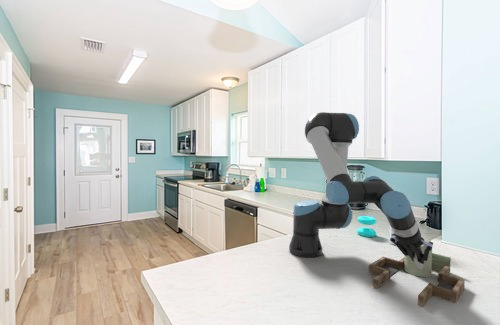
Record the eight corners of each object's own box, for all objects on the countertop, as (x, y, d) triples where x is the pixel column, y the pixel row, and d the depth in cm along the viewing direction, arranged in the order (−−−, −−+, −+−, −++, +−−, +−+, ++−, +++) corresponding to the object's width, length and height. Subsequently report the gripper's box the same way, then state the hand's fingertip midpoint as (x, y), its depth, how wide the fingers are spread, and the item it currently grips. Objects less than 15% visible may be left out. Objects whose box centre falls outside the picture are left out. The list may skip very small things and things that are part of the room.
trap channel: (447, 316, 71) (448, 295, 71) (356, 280, 91) (356, 264, 91) (470, 278, 94) (471, 262, 94) (393, 256, 114) (393, 243, 114)
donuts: (366, 220, 140) (353, 216, 150) (366, 238, 140) (353, 233, 150) (380, 219, 143) (367, 215, 153) (380, 236, 144) (366, 231, 153)
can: (437, 277, 95) (438, 245, 94) (412, 276, 95) (413, 244, 95) (422, 266, 104) (422, 237, 104) (399, 266, 104) (399, 237, 104)
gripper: (381, 233, 87) (398, 269, 98) (425, 243, 77) (439, 281, 88) (387, 216, 90) (403, 252, 102) (431, 223, 81) (443, 262, 92)
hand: (420, 265), depth 95 cm, fingers closed
